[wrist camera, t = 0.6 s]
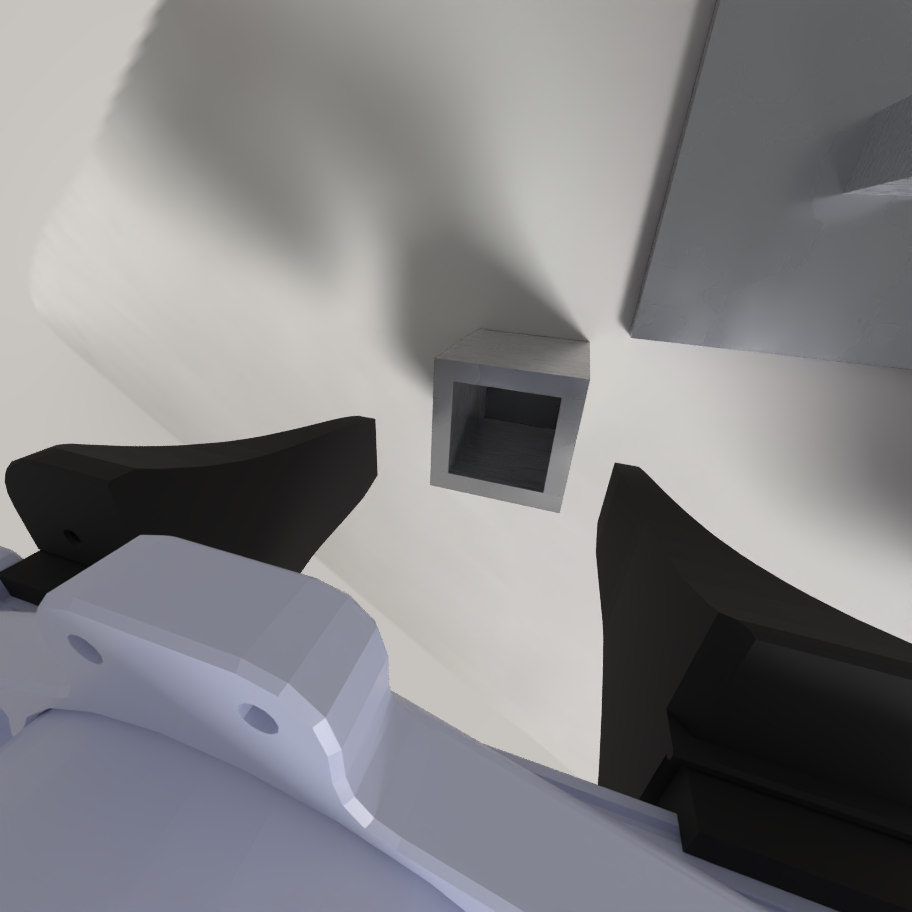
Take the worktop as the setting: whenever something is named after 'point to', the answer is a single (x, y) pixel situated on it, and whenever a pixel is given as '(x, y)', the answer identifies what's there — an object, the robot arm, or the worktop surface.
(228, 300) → the worktop surface
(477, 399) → the sleeve
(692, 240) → the duct flange
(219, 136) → the worktop surface
